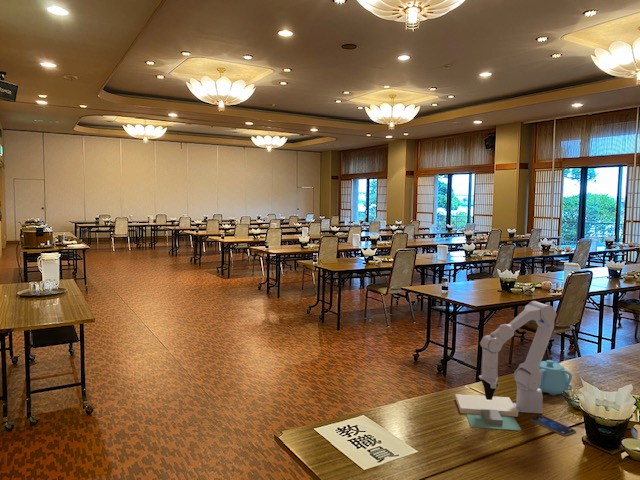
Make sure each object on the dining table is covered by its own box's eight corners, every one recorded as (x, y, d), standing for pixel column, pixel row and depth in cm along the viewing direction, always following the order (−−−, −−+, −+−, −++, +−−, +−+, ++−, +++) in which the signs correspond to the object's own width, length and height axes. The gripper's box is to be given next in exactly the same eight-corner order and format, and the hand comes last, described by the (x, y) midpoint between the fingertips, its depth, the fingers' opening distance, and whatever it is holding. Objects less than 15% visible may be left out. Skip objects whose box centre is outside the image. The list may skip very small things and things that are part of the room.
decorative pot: (533, 395, 211) (534, 365, 209) (525, 382, 226) (526, 353, 225) (573, 399, 207) (575, 368, 206) (562, 385, 223) (564, 356, 222)
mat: (513, 417, 189) (513, 416, 189) (521, 430, 178) (521, 430, 178) (466, 414, 191) (466, 413, 191) (471, 427, 181) (471, 426, 181)
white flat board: (508, 401, 204) (509, 397, 204) (518, 416, 190) (518, 411, 190) (455, 398, 207) (455, 394, 206) (460, 413, 193) (460, 408, 193)
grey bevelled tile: (497, 414, 191) (497, 409, 191) (502, 425, 182) (502, 420, 182) (481, 413, 192) (481, 408, 191) (486, 424, 183) (486, 419, 183)
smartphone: (564, 435, 174) (529, 418, 187) (564, 438, 174) (529, 421, 188) (577, 430, 178) (542, 414, 191) (577, 433, 178) (542, 416, 191)
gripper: (476, 359, 199) (475, 391, 201) (483, 372, 185) (482, 406, 186) (493, 360, 198) (492, 392, 200) (502, 372, 184) (501, 407, 185)
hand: (488, 399), depth 193 cm, fingers closed
